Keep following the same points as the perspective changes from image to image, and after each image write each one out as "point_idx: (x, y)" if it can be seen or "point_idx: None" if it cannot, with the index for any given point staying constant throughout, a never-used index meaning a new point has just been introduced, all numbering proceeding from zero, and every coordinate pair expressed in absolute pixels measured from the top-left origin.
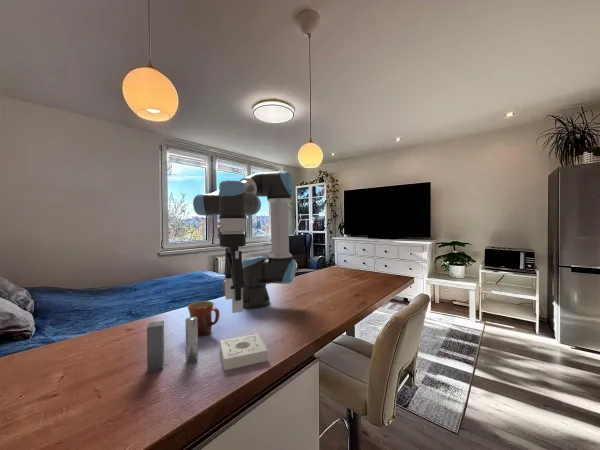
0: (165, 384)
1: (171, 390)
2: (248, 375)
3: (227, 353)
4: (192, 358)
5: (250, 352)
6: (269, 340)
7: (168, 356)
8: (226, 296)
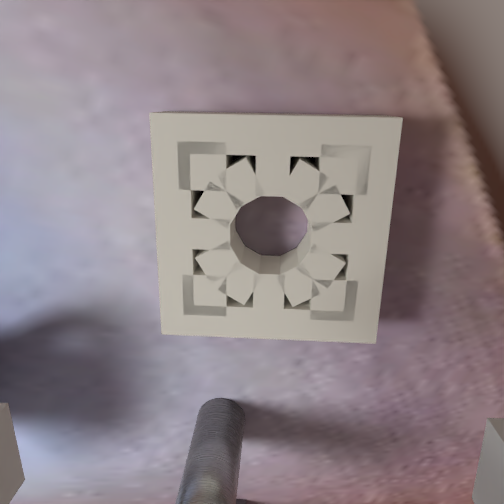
0: (347, 491)
1: (394, 476)
2: (457, 234)
3: (325, 322)
4: (242, 431)
5: (375, 217)
6: (158, 32)
7: (147, 486)
8: (5, 502)
